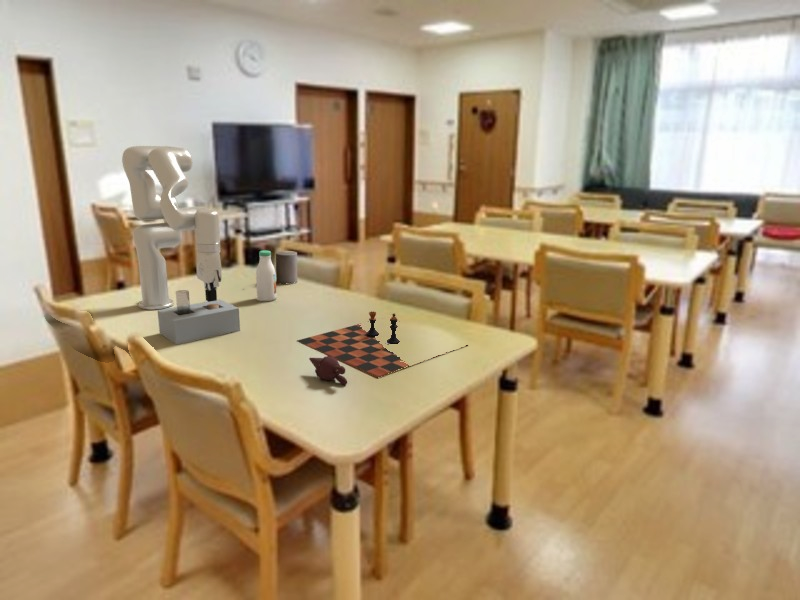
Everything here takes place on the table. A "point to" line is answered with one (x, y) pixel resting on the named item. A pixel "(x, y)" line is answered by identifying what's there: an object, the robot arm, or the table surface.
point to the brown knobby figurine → (329, 369)
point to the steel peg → (183, 302)
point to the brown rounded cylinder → (212, 306)
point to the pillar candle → (286, 267)
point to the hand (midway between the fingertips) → (211, 300)
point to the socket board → (198, 322)
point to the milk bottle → (265, 278)
